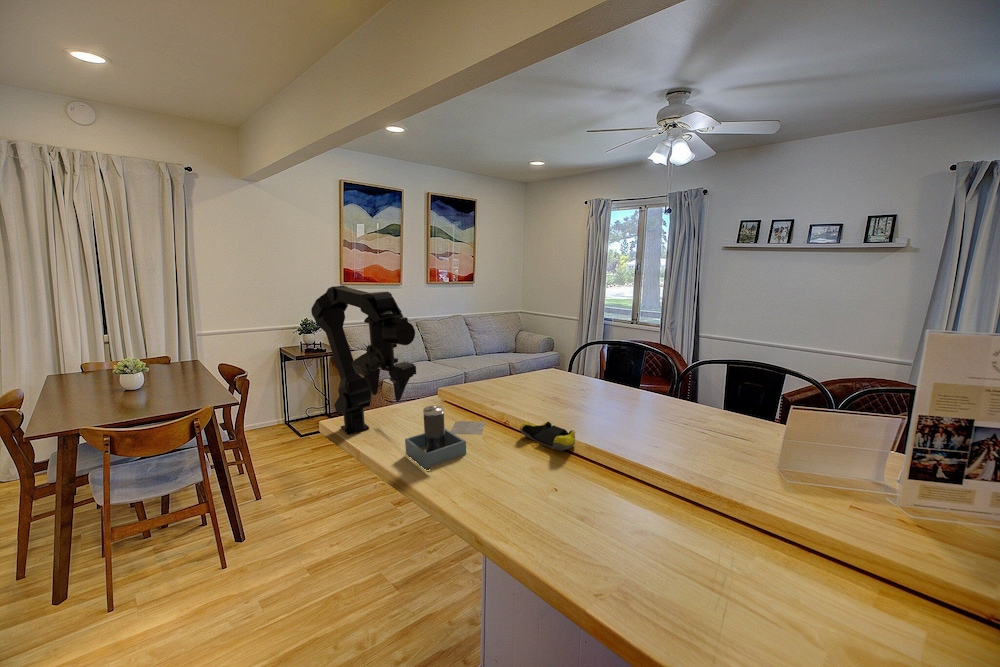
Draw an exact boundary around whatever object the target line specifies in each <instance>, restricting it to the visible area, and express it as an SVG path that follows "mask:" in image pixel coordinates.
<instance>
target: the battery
mask: <svg viewBox="0 0 1000 667" xmlns="http://www.w3.org/2000/svg"><path fill="white" fill-rule="evenodd" d="M444 409H445V408H444V407H443V406H442V405H437V404H436V405H433V404H432V405H429V406H426V407H424V408H423V426H424V427H423V428H424V429H423V430H424V433H425V448H424V449H425V452H426V453H428V452H431V451H434V450H437V449H440V448H443V447H446V442H445V429H446V428H445V411H444Z"/></svg>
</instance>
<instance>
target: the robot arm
mask: <svg viewBox="0 0 1000 667" xmlns="http://www.w3.org/2000/svg"><path fill="white" fill-rule="evenodd" d="M349 305H350V306H353V307H357V308H360V312H362V313H363V314H365V315H366V316H367V317H366V318H365V319H364V321H363V322H364V323H365V324H368V328H369V329H368V330H369V342H370V344H369V345H367V346H366V352H365V353H362V354H361V355H360V356H359V357H357V358H355V359H354V357H353V354H352V351H351V348H350V345H349V342H348V339H347V336H346V333H345V330H344V323H345V320H346V315H345V312H346V310H347V309H348V306H349ZM310 309H311V316H312V317H313V318H314V321H315V323H316V325H317V327H319V328H320V329H321V330H322V331H323V332H324V333H325V334H326V337H327V338H326V339H327V340H328V344H329V346H330V349H331V350H330V351H331V353H332V357H333V359H334V361H335V365H336V368H337V372H338V375H339V379H340V381H339V385H338V390H337V391H338V394H339V396H338V398H337V400H335V403H334V408H335V409H334V410H335V412H336V413H339V414H342V415H343V423H344V424H343V425H341V426H340V429H341V428H342V429H343V430H344V431H345V432H346V433H345V432H344V433H345V434H347V435H351V434H350V433H352V434H354V433H353V432H356V433H358V432H357V431H359V432H362V430H363V431H366V429H367V430H369V429H370V426H369V425H368V424H366V423H365V421H366V420H365V412H364V411H365V410H364V409H365V408H369V407H370V406H371V402H372V395H373V396H376V395H378V391H379V382H380V374H381V370H382V371H385V372H386V371H387V372H388V375H389V376H390V377H389V378H388V380H389V381H390V382H392V383H393V384H392V385H393V390H394V396H395V397H394V398H395V401H396V402H400V401H401V399H402V397H403V395H404V392H405V389H406V386H407V384H408V382H409V381H410V379H411V378H412V377H414V375H416V374H417V366H416V365H415V364H414V363H411V362H407V361H403V362H399V358H397V357H395V349H396V348H397V347H398V345H399V346H400V345H401V346H408V345H411V344H412V343H413V341H414V339H415V336H416V330H415V328H414V326H413V324H412V323H411V322H409V318H408V317H406V316H404V314H403V313H402V309H400V307H399V305H398V303H397V302H396V300H395V298H394V297H393V294H392V293H391V292H389V291H376V292H375V291H374V292H367V291H363V290H359V289H356V288H352V287H348V286H345V285H336V286H330V287H328V288H327V290H326V292H325V293H323V294H322V295H321V296H319V297H318V298H317V299H315V301H314V303H313V304H312V307H311V308H310ZM398 362H399V363H398ZM343 430H342V431H343Z"/></svg>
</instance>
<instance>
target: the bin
mask: <svg viewBox="0 0 1000 667" xmlns="http://www.w3.org/2000/svg"><path fill="white" fill-rule="evenodd" d="M445 444H448V445H447V446H446V445H445V447H443V448H440V449H437V450H434V451H431V452H428V453H426V450H423V449H422V448H424V447H425V432H424V433H421V434H416V435H413V436H410V437H407V438H405V440H404V445H405V455H406V454H407V455H408V456H409V457H411V458H412V459H413V460H414V461H416V462H417V463H418V464H419V465H420V466H422V467H423V468H424V469H426V470H429V469H431V468H430V467H434V466H436V465H439V464H442V463H445V462H448V461H450V460H453V459H456V458H459V457H462V456H464V455H467V441H466V440H465V439H464V438H462V437H460V436H458V434H453V433H452V432H451V430H449V429H446V428H445ZM407 455H406V456H407ZM408 456H407V457H408ZM409 457H408V458H409ZM412 459H411V460H412ZM413 460H412V461H413ZM414 461H413V462H414ZM417 463H416V464H417ZM418 464H417V465H418ZM419 465H418V466H419ZM420 466H419V467H420ZM423 468H422V469H423ZM424 469H423V470H424Z"/></svg>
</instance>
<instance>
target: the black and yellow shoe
mask: <svg viewBox="0 0 1000 667" xmlns="http://www.w3.org/2000/svg"><path fill="white" fill-rule="evenodd" d="M552 423H553V422H551V421H546V422H544V423H542V424H540V425H538V424H533V423H529V422H522V423H521V425H520V428H519V430H520V432H521V434H523V435H524V436H525V437H526V438H528V439H530V440H533V441H534V442H537V443H538V444H539V445H541V446H546V447H548V448H550V449H552V450H557V451H559V452H562V451H565V450H569V449H571V448H573V447H575V445H576V430H569V432H568V431H567V429H565V428H562V427H559V426H556V425H554V424H553V425H552ZM574 444H575V445H574Z"/></svg>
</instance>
